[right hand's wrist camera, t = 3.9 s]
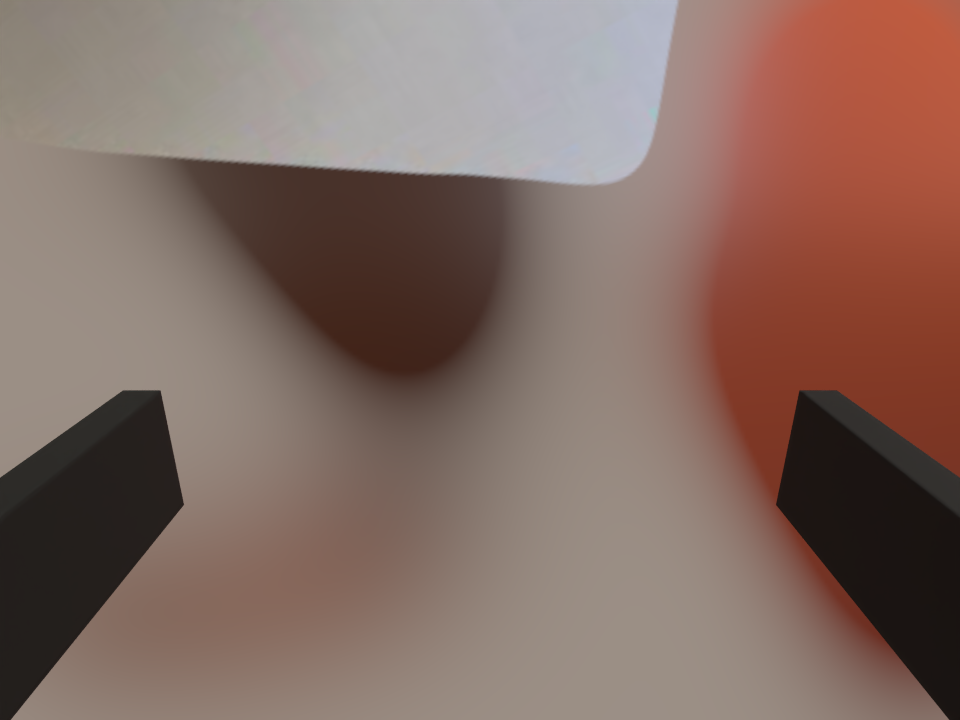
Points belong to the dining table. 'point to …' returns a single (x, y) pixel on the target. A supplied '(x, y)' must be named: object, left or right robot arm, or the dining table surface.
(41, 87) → the dining table surface
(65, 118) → the dining table surface
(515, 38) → the dining table surface
